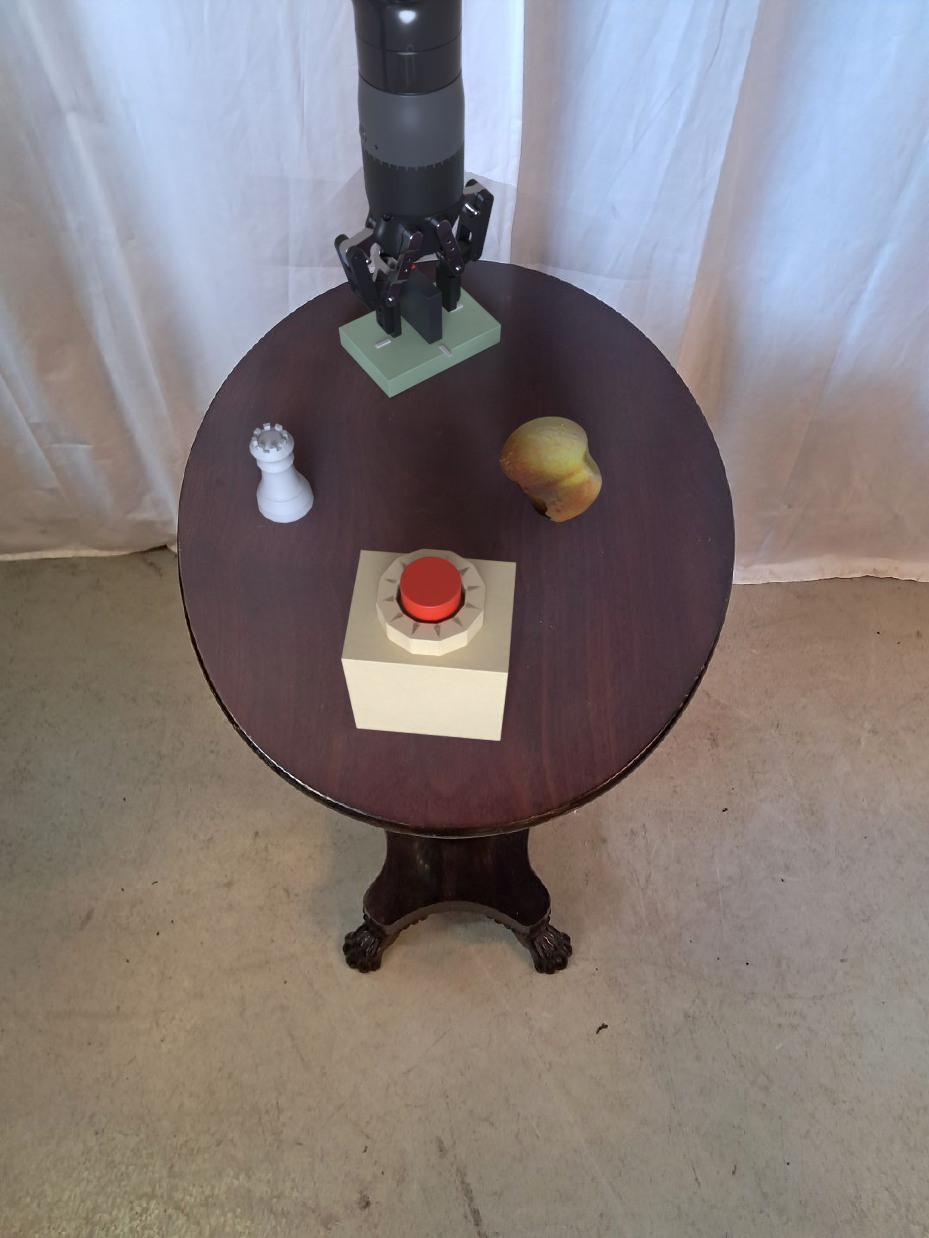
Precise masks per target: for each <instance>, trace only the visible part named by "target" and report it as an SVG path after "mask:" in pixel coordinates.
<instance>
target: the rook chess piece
mask: <svg viewBox="0 0 929 1238" xmlns="http://www.w3.org/2000/svg"><path fill="white" fill-rule="evenodd" d="M262 426H263V428H262V429H260V428H259V427H256V428H255V430H254V431H253V436H251V439H250V442H249V445H248V448H249V452H250V454H251V455H252V456H253V457H254V458H255V461H256V465H257V467H259V469H260V471H261V479H260V482H259V483H258V486H257V489H256V495H255V496H256V500H257V507H258V511H259V512H260V513H261V515H262V516H263V517H265V518H266V519H268V520H270V521H272V522H275V523H281V524H282V523H283V524H288V523H293V522H297V521H298V520H300V519H302V518H303V517H305V516H306V515H307V514H308V513H309V512H310V510H311V509H312V508H313V504H314V500H315V499H314V498H315V497H314V494H313V493H314V492H313V490H312V488H311V485H310V484H311V483H310V482H309V481H308V480H307V479H306V478H305V476H304V475H303V474H302V473H300V472H299V471H298V470H297V468H296V467H295V464H294V461H295V456H294V455H295V454H294V452H293V450H294V447H295V441H294V437H293V436H292V435H291V434H290V433H289V432H288V431H287V429H283V426H282V425H281V424H279V423H275V425H274V427H273V426H271V423H270V422H268V423H263V424H262Z"/></svg>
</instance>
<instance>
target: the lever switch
mask: <svg viewBox="0 0 929 1238" xmlns="http://www.w3.org/2000/svg"><path fill="white" fill-rule="evenodd" d="M432 283H433V284H434V285H435V286H436V281H435V282H432ZM401 327H402V335H400V336H398V337H396V338H393V337H392V336H391V335H390V334H388V335H387V333H386V332H385V331H384V330H383V329H382V328H381V327H380V326H379V325H378V323H377V321H376V310H374V311H371V312H369V313H367V314H364V315H363V316H361V317H358V318H357V319H354V320H352V321H350V322H347V323H345V324H344V325H341V326H339V327H338V331H339V338H340V345H341V346H342V347H343V348H344V350H345V351H346V352H347V353H348V354H349V355H350V356H351V357H352V358H353V360H354V361H356V363H357V364H358V365H359V366H360V367H361V368H362V369H363V370H364V371H365V373H366V374H367V375H368V376H369V377H370V378H371V379H372V380H373V381H374V382H375V383H376V385H377V386H378V387H379V388H380V389H381V390H382V391H383V393H385V395H386V396H388V398H392V397H395V396H396V395H398V394H401V393H402V392H404V391H406V390H408V389H410V388H413V387H414V386H416V385H418V384H420V383H422V382H424V381H426V380H427V379H430V378H432V377H434V376H437V374H440V373H442V372H443V371H446V370H448V369H450V368H452V367H454V366H456V365H458V364H459V363H461V362H463V361H465V360H467V359H469V358H471V357H473V356H475V355H477V354H479V353H481V352H483V351H485V350H487V349H489V348H491V347H493V346H494V345H497V344H499V343H500V342H501V333H502V331H501V329H502V324H501V323H500V322H499V321H498V320H496V319H495V317H493V315H492V314H490V313H489V311H487V310H486V309H485V308H484V307H483V306H482V305H481V304H480V303H479V302H477V300H475V298H474V297H472V296H471V295H470V294H469V293H468V292H467V291H466V290H465V289H464V288H463V287H462V286H461V296H460V299H459V301H458V302H457V308H456V309H455V310H453V311H451V312H447V311H446V310H445V309H444V308H443V307H442V339H440V340H438V341H436V342H434V343H432V344H428V343H427V342H426V341H425V340H424V338H423V337H422V336H421V335H420V334H419V333H418V332H417V331H416V330H415V329H414V328H413V327H412V326H411V325H410V324H409V323H408V322H407V321H406V320H405V319H404V318H403V317H402V316H401Z"/></svg>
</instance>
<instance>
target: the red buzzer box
mask: <svg viewBox="0 0 929 1238" xmlns="http://www.w3.org/2000/svg"><path fill="white" fill-rule="evenodd" d="M423 557H439V558H442V559H445V560H447V561H449V562H450V563H451V564H453V565H454V566H455V568H456V569H457V570H458V572H459V574H460V577H461V600H460V604H459V606H458V608H457V609H456V611H455V612H454V613H453V614H452V615H451V616H449V617H448V618H446V619H444V620H441V621H437V622H425V621H421V620H418V619H416V618H414V617H412V616H411V615H410V614H409V613H408V612H407V611H406V610H405V608H404V607H403V604H402V600H401V589H400V578H401V575H402V573H403V571H404V569H405V568H406V567H407V566H408V565H409V564H410V563H412V562H413V561H415V560H417V559H420V558H423ZM516 573H517V562H515V561H502V560H488V559H477V558H465V557H462V556H460V555H459V554H457V553H456V552H453V551H451V550H442V549H431V548H420V549H417V550H415V551H412V552H410V553H403V552H391V551H379V550H366V549H360V552H359V558H358V564H357V569H356V575H355V581H354V585H353V592H352V597H351V601H350V602H351V603H350V609H349V613H348V620H347V624H346V631H345V636H344V640H343V641H344V642H343V647H342V653H341V658H340V659H341V664H342V668H343V673H344V677H345V682H346V686H347V690H348V696H349V700H350V705H351V708H352V709H351V710H352V712H353V718H354V722H355V727H356V729H360V730H361V729H362V730H374V731H384V732H385V731H386V732H395V733H396V732H397V733H407V734H408V733H409V734H419V735H429V736H430V735H431V736H440V737H453V738H463V739H475V740H487V741H498V742H500V741H501V739H502V732H503V731H502V730H503V729H502V728H503V722H504V713H505V702H506V694H507V686H508V677H509V668H510V667H509V666H510V653H511V642H512V641H511V640H512V627H513V613H514V601H515V599H514V598H515V584H516Z"/></svg>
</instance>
